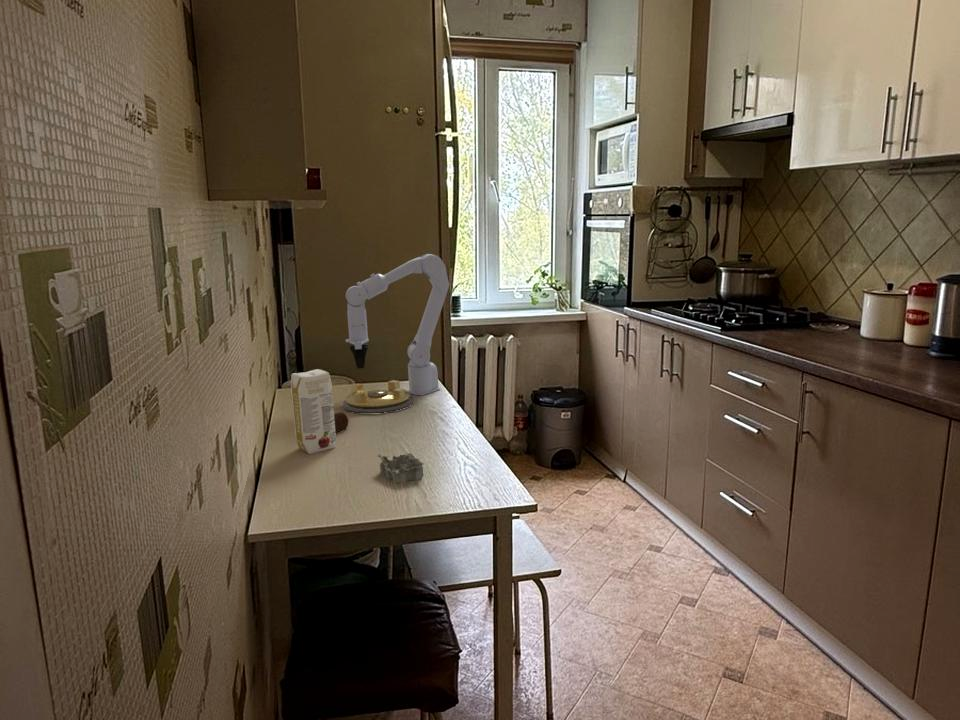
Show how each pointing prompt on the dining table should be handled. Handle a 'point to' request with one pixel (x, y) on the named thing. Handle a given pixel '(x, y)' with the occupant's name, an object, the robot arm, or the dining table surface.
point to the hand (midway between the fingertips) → (360, 367)
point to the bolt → (340, 422)
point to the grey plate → (378, 410)
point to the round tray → (377, 396)
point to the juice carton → (313, 411)
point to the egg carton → (402, 468)
